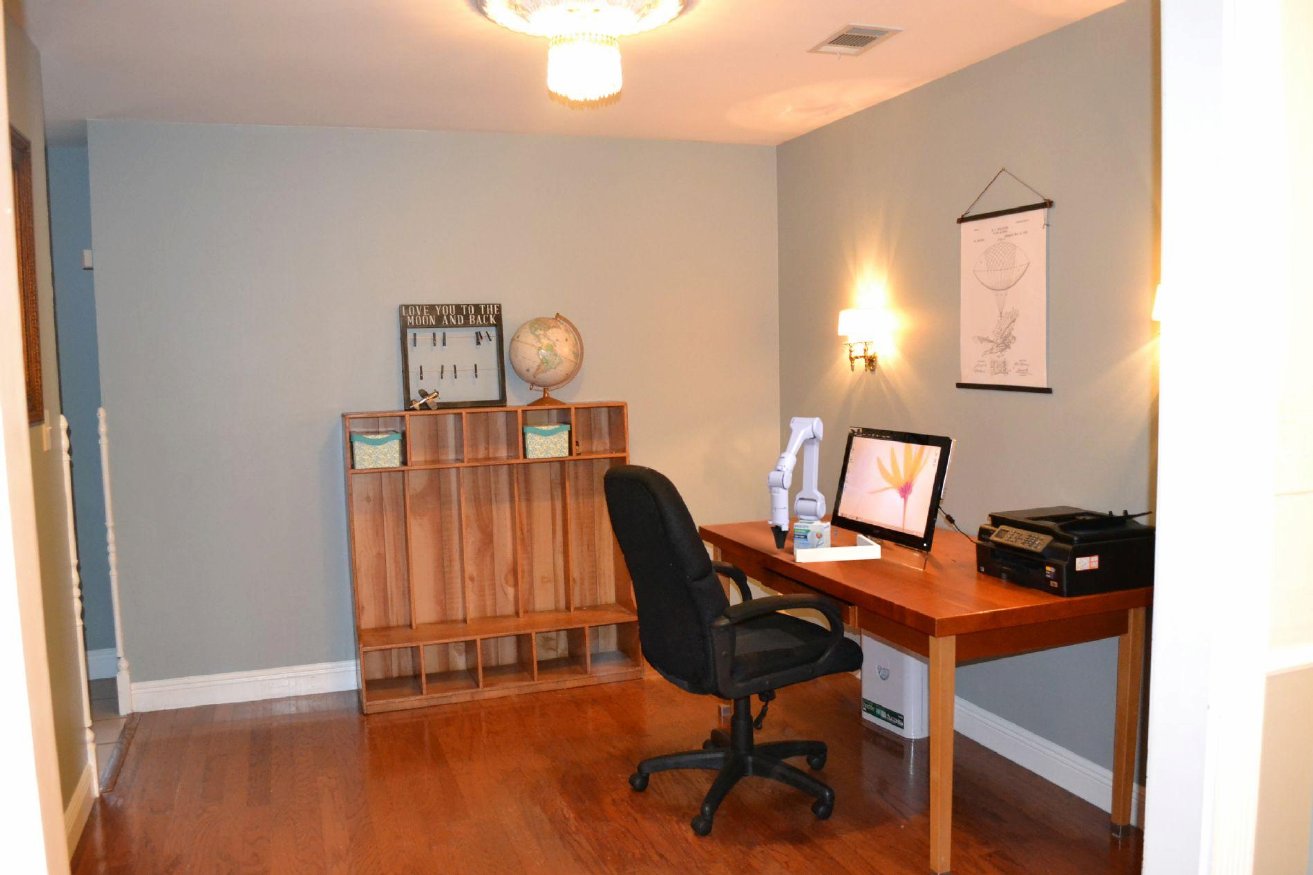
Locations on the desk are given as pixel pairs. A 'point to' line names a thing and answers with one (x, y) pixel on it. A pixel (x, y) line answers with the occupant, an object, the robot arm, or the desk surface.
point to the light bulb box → (811, 535)
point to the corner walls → (841, 552)
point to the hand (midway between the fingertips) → (780, 548)
